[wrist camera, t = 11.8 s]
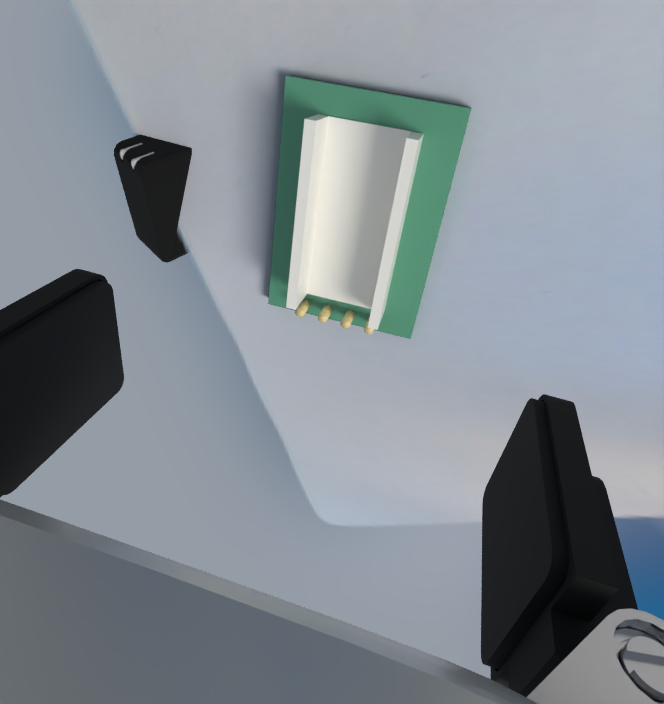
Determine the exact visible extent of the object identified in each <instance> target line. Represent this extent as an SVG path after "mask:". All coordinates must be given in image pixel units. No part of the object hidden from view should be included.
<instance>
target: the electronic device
mask: <svg viewBox="0 0 664 704" xmlns="http://www.w3.org/2000/svg"><path fill="white" fill-rule="evenodd" d="M191 155H192V148H189V147H185V146H182V145H178V144H174V143H170V142H166V141H163V140H159V139H155V138H151V137H147V136H144V135H138V136H135V137H132V138H129V139H126V140H123V141H121V142H119V143H118V144H117V145H116V147H115V149H114V157H115V160H116V164H117V167H118V171H119V175H120V178H121V182H122V185H123V189H124V192H125V196H126V199H127V203H128V207H129V210H130V214H131V217H132V221H133V225H134V228H135V232H136V235H137V237H138V238H139V239H140V240H141V241H142V242H143V243H144V244H145V245H146V246H147V247H148V248H149V249H150V250H151V251H152V252H153V253H154V254H155V255H156V256H157V257H158V258H160V259H161V260H162V261H163V262H171V261H173V260H175V259H177V258H179V257H181V256H183V255H185V254H187V253H189V252H188V250H187V248H186V247H185V244H184V242H183V239H182V237H181V235H180V233H179V231H178V229H177V226H178V221H179V216H180V211H181V206H182V201H183V196H184V191H185V185H186V180H187V175H188V170H189V165H190V160H191Z"/></svg>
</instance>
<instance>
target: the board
mask: <svg viewBox="0 0 664 704" xmlns="http://www.w3.org/2000/svg"><path fill="white" fill-rule="evenodd" d="M470 111H471V107H465V106H459V105H454V104H448V103H442V102H437V101H431V100H425V99H420V98H414V97H408V96H403V95H397V94H391V93H386V92H380V91H374V90H369V89H363V88H357V87H352V86H346V85H341V84H335V83H329V82H324V81H318V80H312V79H307V78H301V77H295V76H285V89H284V102H283V115H282V128H281V142H280V155H279V168H278V182H277V195H276V208H275V222H274V235H273V248H272V262H271V275H270V288H269V301H268V304H271V305H275V306H279V307H283V308H287V309H291V310H295V313H296V315H297V316H298V317H303V316H304V314H305V313H307V314H312V315H316V316H318V320H319V321H320V322H322V323H324V322H326V321H327V319H332V320H336V321H340V322H341V326H342V327H343V328H349V327H350V325H351V324H352V325H356V326H360V327H364V331H365V333H367V334H372V333H373V331H374V330H377V331H381V332H385V333H389V334H393V335H397V336H401V337H405V338H409V339H411V335H412V331H413V327H414V323H415V320H416V316H417V312H418V308H419V304H420V301H421V297H422V293H423V289H424V285H425V282H426V278H427V274H428V270H429V266H430V263H431V259H432V255H433V251H434V247H435V244H436V240H437V236H438V232H439V228H440V225H441V221H442V217H443V213H444V209H445V206H446V202H447V198H448V194H449V190H450V187H451V183H452V179H453V175H454V171H455V168H456V164H457V160H458V156H459V152H460V149H461V145H462V141H463V137H464V133H465V130H466V126H467V122H468V118H469V114H470Z"/></svg>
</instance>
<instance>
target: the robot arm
mask: <svg viewBox="0 0 664 704" xmlns="http://www.w3.org/2000/svg"><path fill="white" fill-rule="evenodd" d="M123 381H124V373H123V366H122V358H121V350H120V342H119V335H118V326H117V319H116V311H115V303H114V295H113V289H112V287H111V285H110V284H108V282H107V280H106V278H105V277H104V276H102V275H100V274H96V273H92V272H89V271H85V270H81V269H75V270H72V271H71V272H69V273H67V274H65V275H63V276H61V277H60V278H58V279H56V280H54V281H52V282H51V283H49V284H47V285H45V286H43V287H42V288H40V289H38V290H36V291H34V292H32V293H31V294H29V295H27V296H25V297H23V298H21V299H20V300H18V301H16V302H14V303H12V304H10V305H9V306H7V307H5V308H3V309H1V310H0V497H1V496H2V495H7V494H9V493H11V492H12V491H14V490H15V489H16V488H17V487H18V486H19V485H20V484H21V483H22V482H23V481H24V480H26V479H27V478H28V477H29V476H30V475H31V474H32V473H33V472H34V471H35V470H36V469H37V468H38V467H39V466H40V465H41V464H42V463H43V462H45V461H46V460H47V459H48V458H49V457H50V456H51V455H52V454H53V453H54V452H55V451H56V450H57V449H58V448H59V447H60V446H61V445H63V444H64V443H65V442H66V441H67V440H68V439H69V438H70V437H71V436H72V435H73V434H74V433H75V432H76V431H77V430H78V429H79V428H81V427H82V426H83V425H84V424H85V423H86V422H87V421H88V420H89V419H90V418H91V417H92V416H93V415H94V414H95V413H96V412H97V411H99V410H100V409H101V408H102V406H104V405H105V404H106V403H107V402H108V401H109V400H110V399H111V398H112V397H113V396H114V395H115V394H116V393H118V391H119V390H120V389H121V387H122V385H123ZM481 659H482V663H483V664H485V665H488V666H490V667H491V679H489V678H486V677H484V676H481V675H479V674H477V673H475V672H472V671H470V670H468V669H465V668H463V667H460V666H458V665H456V664H453V663H451V662H449V661H447V660H444V659H442V658H439V657H436V656H434V655H431V654H428V653H426V652H423V651H421V650H418V649H415V648H413V647H410V646H407V645H404V644H402V643H399V642H397V641H394V640H391V639H389V638H386V637H383V636H381V635H378V634H376V633H373V632H370V631H367V630H365V629H362V628H360V627H357V626H354V625H352V624H349V623H346V622H343V621H341V620H338V619H335V618H332V617H330V616H327V615H324V614H321V613H319V612H316V611H313V610H310V609H307V608H305V607H302V606H299V605H296V604H293V603H291V602H288V601H285V600H282V599H279V598H277V597H274V596H271V595H268V594H266V593H263V592H260V591H257V590H254V589H252V588H249V587H246V586H243V585H240V584H238V583H235V582H232V581H230V580H227V579H224V578H221V577H218V576H216V575H213V574H210V573H207V572H204V571H202V570H198V569H196V568H193V567H190V566H187V565H185V564H182V563H179V562H176V561H173V560H170V559H167V558H165V557H162V556H159V555H156V554H154V553H151V552H148V551H145V550H142V549H139V548H137V547H134V546H131V545H128V544H125V543H123V542H120V541H117V540H114V539H111V538H108V537H106V536H103V535H100V534H97V533H94V532H91V531H89V530H86V529H83V528H80V527H77V526H74V525H71V524H69V523H66V522H63V521H60V520H57V519H54V518H52V517H49V516H46V515H43V514H40V513H37V512H34V511H31V510H28V509H25V508H23V507H20V506H17V505H14V504H11V503H8V502H5V501H2V500H0V704H664V621H663V620H661V619H659V618H657V617H655V616H653V615H651V614H649V613H647V612H643V611H639V610H638V608H637V604H636V600H635V596H634V593H633V589H632V585H631V582H630V578H629V574H628V570H627V566H626V563H625V559H624V555H623V551H622V548H621V544H620V540H619V537H618V532H617V529H616V525H615V521H614V517H613V513H612V510H611V506H610V502H609V498H608V494H607V491H606V488H605V485H604V483H603V481H602V480H601V479H600V478H597V477H594V476H592V474H591V470H590V466H589V462H588V458H587V453H586V449H585V445H584V441H583V437H582V433H581V428H580V424H579V420H578V416H577V412H576V408H575V405H574V403H573V402H571V401H567V400H563V399H560V398H556V397H552V396H548V395H545V394H544V395H542V396H541V397H540V398H539V399H538V400H536V399H532V398H531V399H529V401H528V402H527V404H526V406H525V408H524V410H523V412H522V414H521V416H520V418H519V420H518V422H517V424H516V426H515V429H514V431H513V433H512V435H511V437H510V439H509V441H508V443H507V445H506V447H505V449H504V451H503V453H502V455H501V457H500V459H499V461H498V463H497V466H496V468H495V470H494V472H493V474H492V476H491V478H490V480H489V482H488V484H487V486H486V489H485V492H484V496H483V516H482V610H481Z"/></svg>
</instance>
